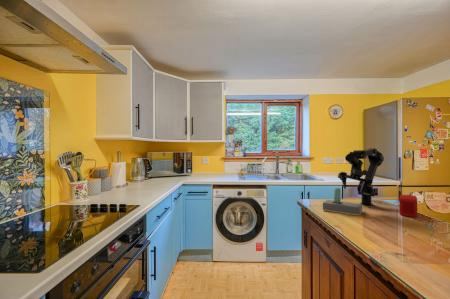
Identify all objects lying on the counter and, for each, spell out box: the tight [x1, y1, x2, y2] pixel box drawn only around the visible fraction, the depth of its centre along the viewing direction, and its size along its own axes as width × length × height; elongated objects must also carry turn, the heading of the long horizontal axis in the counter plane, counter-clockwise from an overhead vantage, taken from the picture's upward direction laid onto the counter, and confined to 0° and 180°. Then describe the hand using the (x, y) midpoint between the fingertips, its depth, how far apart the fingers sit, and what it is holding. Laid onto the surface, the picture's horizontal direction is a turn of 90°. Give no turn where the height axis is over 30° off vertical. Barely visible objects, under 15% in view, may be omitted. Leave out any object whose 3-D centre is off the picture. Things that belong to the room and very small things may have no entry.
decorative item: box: [397, 194, 418, 218], centre depth 136 cm, size 15×9×10 cm, turn 141°
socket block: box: [322, 199, 363, 216], centre depth 144 cm, size 10×20×4 cm, turn 51°
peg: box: [333, 187, 341, 204], centre depth 146 cm, size 4×4×13 cm
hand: (352, 191), depth 146 cm, fingers open, 9 cm apart
